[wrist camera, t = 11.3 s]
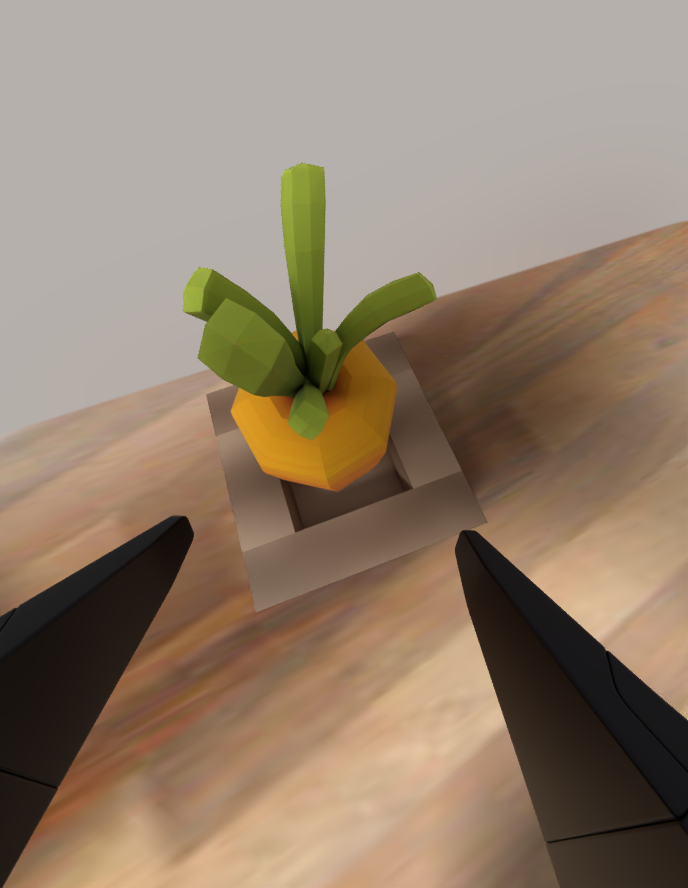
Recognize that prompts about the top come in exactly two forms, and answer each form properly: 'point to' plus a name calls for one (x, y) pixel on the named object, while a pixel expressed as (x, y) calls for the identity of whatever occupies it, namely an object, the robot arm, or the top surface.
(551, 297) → the top surface
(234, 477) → the walnut socket block
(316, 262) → the carrot
